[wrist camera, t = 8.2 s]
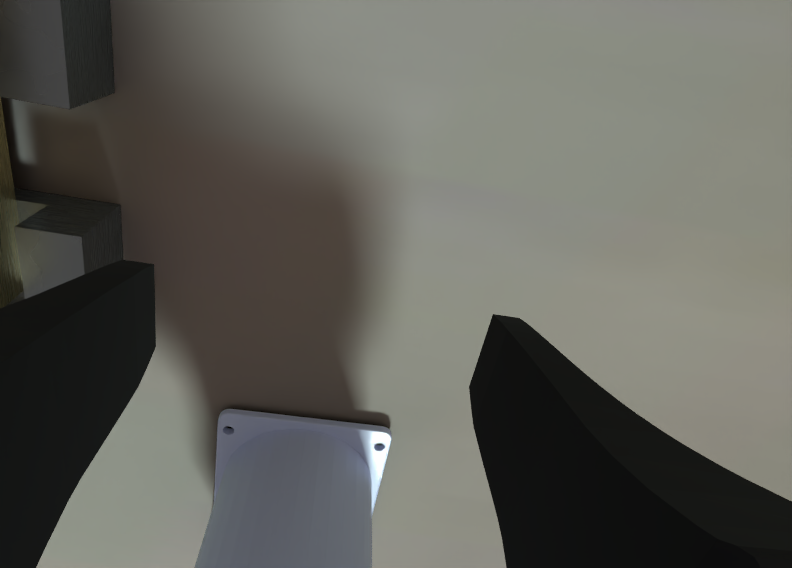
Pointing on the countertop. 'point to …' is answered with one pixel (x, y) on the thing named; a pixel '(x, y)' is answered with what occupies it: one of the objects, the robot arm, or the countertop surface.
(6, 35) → the chain end
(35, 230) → the chain end
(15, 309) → the robot arm
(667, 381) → the countertop surface
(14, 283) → the link bar
